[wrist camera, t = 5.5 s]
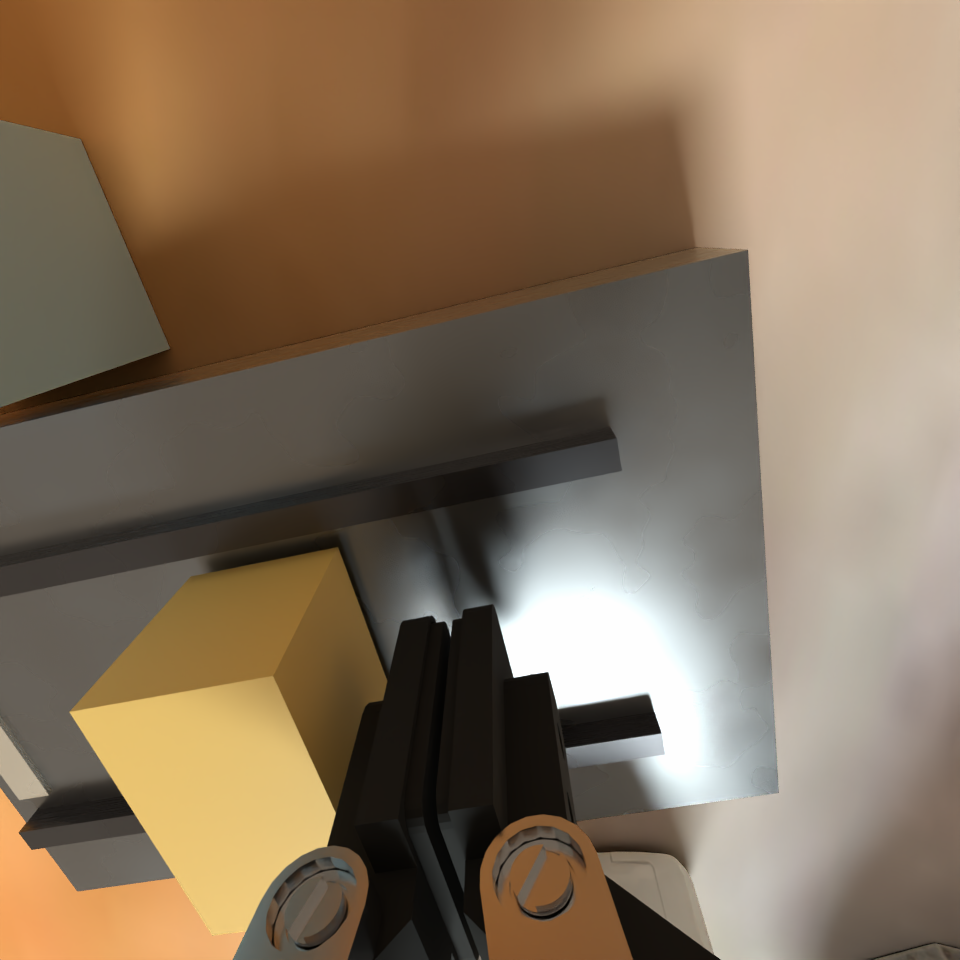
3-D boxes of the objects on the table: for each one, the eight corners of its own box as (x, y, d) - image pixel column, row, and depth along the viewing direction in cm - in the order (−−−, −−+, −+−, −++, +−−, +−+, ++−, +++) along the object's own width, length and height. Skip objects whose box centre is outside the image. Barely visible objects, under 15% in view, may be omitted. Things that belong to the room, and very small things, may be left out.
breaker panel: (696, 247, 11) (764, 250, 9) (737, 712, 16) (790, 816, 13) (-102, 439, 13) (-265, 494, 11) (131, 806, 18) (61, 915, 15)
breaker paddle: (338, 547, 11) (273, 675, 8) (410, 743, 13) (382, 914, 10) (190, 576, 11) (69, 711, 8) (281, 764, 13) (212, 935, 10)
